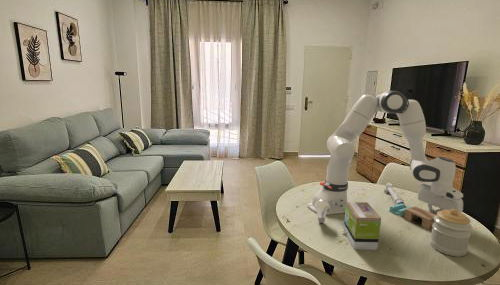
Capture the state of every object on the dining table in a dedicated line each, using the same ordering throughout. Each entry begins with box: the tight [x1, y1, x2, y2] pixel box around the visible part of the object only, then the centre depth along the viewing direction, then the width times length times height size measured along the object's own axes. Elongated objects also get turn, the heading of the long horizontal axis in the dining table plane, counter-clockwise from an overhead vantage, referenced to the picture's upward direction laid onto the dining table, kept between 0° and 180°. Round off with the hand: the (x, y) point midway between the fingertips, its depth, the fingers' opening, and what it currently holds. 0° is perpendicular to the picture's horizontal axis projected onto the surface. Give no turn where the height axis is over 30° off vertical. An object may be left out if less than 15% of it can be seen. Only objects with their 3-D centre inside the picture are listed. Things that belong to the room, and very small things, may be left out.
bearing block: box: [403, 205, 436, 231], centre depth 137 cm, size 8×12×5 cm, turn 27°
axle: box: [417, 208, 443, 224], centre depth 141 cm, size 16×4×4 cm, turn 117°
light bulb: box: [315, 199, 330, 224], centre depth 135 cm, size 7×7×12 cm
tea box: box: [343, 201, 382, 251], centre depth 120 cm, size 15×10×15 cm, turn 178°
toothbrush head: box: [383, 182, 406, 205], centre depth 166 cm, size 5×7×25 cm
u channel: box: [389, 203, 413, 217], centre depth 149 cm, size 10×6×3 cm, turn 117°
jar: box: [429, 209, 473, 257], centre depth 115 cm, size 13×13×18 cm
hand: (436, 214), depth 143 cm, fingers closed on axle, 4 cm apart
